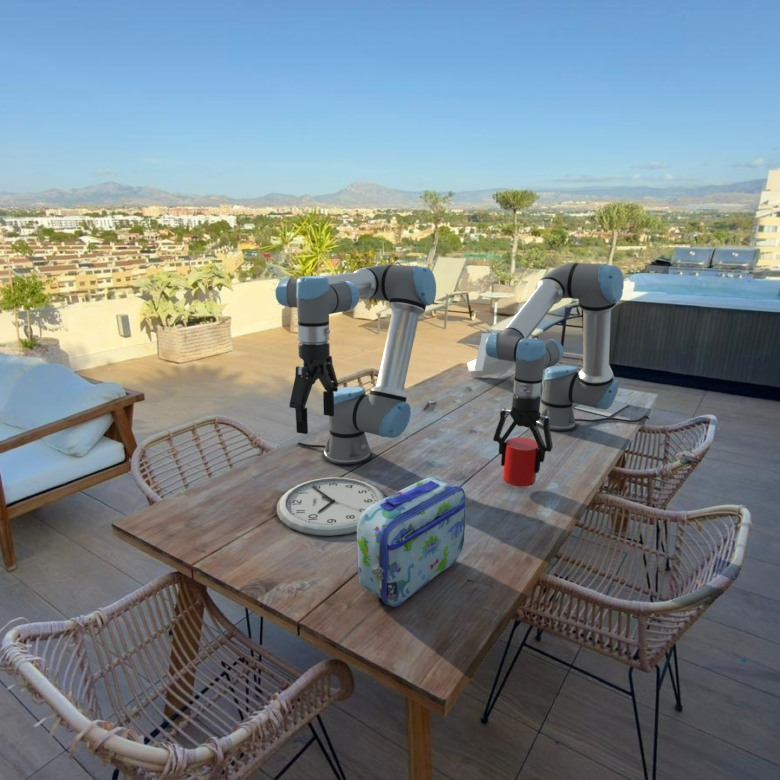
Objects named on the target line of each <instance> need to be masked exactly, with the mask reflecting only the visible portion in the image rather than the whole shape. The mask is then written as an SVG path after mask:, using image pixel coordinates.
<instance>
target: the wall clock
mask: <svg viewBox="0 0 780 780" xmlns="http://www.w3.org/2000/svg"><path fill="white" fill-rule="evenodd" d="M385 498H386V496H385V494H384V493H383V492H382V491H381V490H380V489H379V488H377V487H376V486H374V485H372V484H371V483H369V482H365V481H362V480H359V479H355V478H349V477H338V476H337V477H335V476H333V477H332V476H331V477H322V478H317V479H312V480H307V481H305V482H302V483H299V484H297V485H295V486H293V487H292V488H290V489H288V490H287V491H286V492H285V493H284V494H283V495H281V496H280V498H279V499H278V502H277V503H276V515H277V517H278V518H279V520H280V521H281V522H282V523H283V524H285V525H286V526H287V527H288V528H290V529H293V530H295V531H297V532H299V533H303V534H308V535H312V536H327V537H328V536H329V537H331V536H332V537H333V536H342V535H350V534H352V533H357V526H358V522H359V519H360V517H361V515H362V513H363V512H364V511H365V510H366V509H367V508H368V507H369V506H371V505H373V504H375V503H377V502H379V501H381V500H383V499H385Z"/></svg>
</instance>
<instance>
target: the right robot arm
mask: <svg viewBox="0 0 780 780" xmlns="http://www.w3.org/2000/svg"><path fill="white" fill-rule="evenodd" d="M624 284H625V281H624V276H623V272H622V270H621V269H620V268H619V266H616V265H612V264H606V263H602V264H599V263H581V262H568V263H564V264H560V265H558V266H557V267H555V268H553V269H552V270H550V271H548V272H547V273H546V274H544V276H542V278H541V279H539V281H538V282H537V283H536V285H535V289H534V290H535V291H534V292H533V293H532V294H531V295H530V297H529V298H528V299H527V301H526V302H525V303H524V304H523V306H522V307H520V308H521V309H520V311H518V312H517V313H516V314H515V315H514V317H513V318H512V319H511V320H510V322H509V323H508V324H507V325H506V327H505V328H504V329H503V330H502V331H501V332H500V333H499V332H495V333H494V332H493V333H490V335H489V336H488V337H487V339H486V343H485V350H486V354H487V355H488V356H489V357H492V358H496V359H499V360H500V359H501V360H507V361H512V362H516V365H515V368H514V371H515V372H514V379H513V390H512V391H513V395H512V401H511V402H512V403H511V409H506V408H502V409H501V411H499V421H498V424H497V427H496V430H495V432H494V436H493V439H492V440H493V442H497V443H498V454H499V455H501V461H500V466H501V467H504V462H505V450H506V441H507V440H508V438H509V436H510V435H511V433H512V432H513V430H514V429H515V427H524V428H526V429H527V428H528V429H529V430H530V432H531V433H532V436H533V438H534V441H536V443H537V445H538V447H539V450H538V451H537V458H536V468H535V473H536V474H539V472H540V469H541V463H544V461H545V457H546V452H549V453H550V452H551V451H552V449H553V448H554V446H553V439H552V432H551V431H556V432H567V431H572V430H574V429H575V428H576V422H588V423H594V422H601V421H619V422H625V423H639V422H641V421H642V420H644V419H647V420H650V417H649V416H648V415H643V416H641V417H640V418H638V419H624V418H619V417H618V418H617V417H616V418H615V417H603V418H597V419H587V418H586V419H585V418H584V419H583V418H575V417H576V416H575V413H574V407H573V405H574V404H577V405H585V406H589V407H594V408H596V409H597V408H599V409H608V408H609V407H610V406H611V405H612V403H613V401H614V402H615V399H616V396H617V394H618V391H619V387H620V382H619V380H618V379H617V378H614V372H613V370H612V369H610V347H611V346H610V345H611V315H612V313H611V312H612V310H613V309H614V308H615V307H616V306H617V303H619V302H620V301H621V299H622V297H623V293H624V292H623V290H624ZM563 299H574V300H578V308H579V309H581V311H582V312H583V313H582V315H583V317H582V318H583V319H582V321H583V322H582V323H583V324H582V328H583V329H582V338H583V339H582V368H581V369H580V370H579V372H578V368H577V366H572V365H557V364H558V363H559V362H561V360H562V359H563V357H564V354H565V353H564V346H563V345H562V343H561V342H560V341H558V340H557V339H554V338H547V339H538V338H537V339H534V338H532V339H530V338H529V337H530V335H531V336H532V334H533V333H534V331H535V330H536V329H537V328H538V326H539V325H540V324H541V322H542V321H543V320H544V319H545V317H546V316H547V314H548V313H549V311H551V309H552V308H553V307H554V305H556V304H558V303H560V302H561V301H562V300H563ZM546 368H548V369H546ZM544 369H546V371H545V370H544ZM509 415H510V416H509ZM508 417H511V419H512V420H513V421H512V423H511V424H510V425H509V427H508V428H507V430H505V433H504V434H503V436H501V434H502V431H503V429H504V425H505V423H506V420H507V418H508ZM539 428H542V429H543V434H544V439H543V437H542V435H541V432H540V429H539ZM544 441H545V442H544Z"/></svg>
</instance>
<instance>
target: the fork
mask: <svg viewBox="0 0 780 780" xmlns="http://www.w3.org/2000/svg"><path fill="white" fill-rule="evenodd" d="M436 399H437V397H436V396H435V395H430V398H429V400H428V403H427V404H425V406H424V407H423V411H425V410H426V409H427V408H428V407H430V405H431V404H434V403H435V402H436Z"/></svg>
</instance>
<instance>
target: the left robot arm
mask: <svg viewBox="0 0 780 780" xmlns="http://www.w3.org/2000/svg"><path fill="white" fill-rule="evenodd" d="M274 294H275V299H276V301H277V303H278V304H280V305H281V306H283V307H289V308H296V311H297V341H299V342H298V344H297V346H298V348H297V349H298V357H299V359H301V360H302V361H303V364H302V366H299V365H298V366H296V367H295V375H294V376H295V377H294V381H293V386H292V390H291V395H290V401H289V405H288V406H289V408H292V409H294V410H295V425H296V426H295V427H296V433H297V434H303V435H307V434H309V426H308V421H309V420H308V408H307V407H306V405H307V402H308V400H309V396H310V393H311V390H312V388H313V385H315V383H316V382H317V380H319V382H320V384H321V385H322V387H323V389H324V391H322V396H323V397H322V398H323V402H322V403H323V416H327V417H328V425H329V426H328V428H329V429H328V431H329V432H328V433H329V435H328V437H327V440H326V443H325V445H324V444H307V443H303V442H297V445H299V446H303V447H307V448H321V449H322V448H323V449H324V450H323V451H324V452H323V456H324V459H325V460H326V461H327V462H329V463H331V464H335V465H339V466H351V465H358V464H361V463H364V462H367V461H368V460H369V459H370V457H371V447H370V444H369V441H368V439H367V436H366V433H367V434H372V435H376V436H379V437H381V438H391V439H396V438H398V437H400V436H401V435H402V434H403V433H404V432H405V430H406V429H407V427H408V424H409V422H410V419H411V415H412V411H411V405H410V404H409V403H408V402H407V398H408V397H407V395H406V393H405V391H404V388H405V385H406V379H407V375H408V370H409V365H410V360H411V356H412V351H413V347H414V343H415V342H414V341H415V336H416V331H417V328H418V322H419V318H420V317H421V316H422V315H424V314H425V313H426V309H427V307H428V306H431V305H433V304H434V302H435V300H436V297H437V296H436V295H437V282H436V277H435V275H434V273H433V271H432V270H431V269H430V268H429V267H427V266H419V265H404V264H379V265H373V266H367V267H361V268H358V269H356V270H355V271H354V272H347V273H337V274H330V275H329V274H328V275H321V276H320V275H306V276H300V277H298V278H293V277H284V278H281V279H280V280H279V281H278V282H277V283H276V285H275V292H274ZM369 299H370V300H377V301H384V302H388V307H389V308H390V309H391V314H390V319H389V324H388V328H387V334H386V337H385V342H384V347H383V352H382V356H381V361H380V365H379V366H380V367H379V371H378V375H377V380H376V385H375V386H373V387H372V388H370V390H369V394H366V392H367V391H366V389H365V388H364V387H362V386H345V387H344V386H343V387H340V388H338V387H339V381H338V378H337V374H336V371H335V367H334V364H333V357H332V355H331V347H330V346H331V345H330V344H331V343H330V342H329V340H330V333H331V329H330V315H332V314H337V313H341V312H342V313H344V312H345V313H346V312H348V311H350V310H353V309H355V308H356V307H357V305H358V304H359V301H360V300H369Z"/></svg>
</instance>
